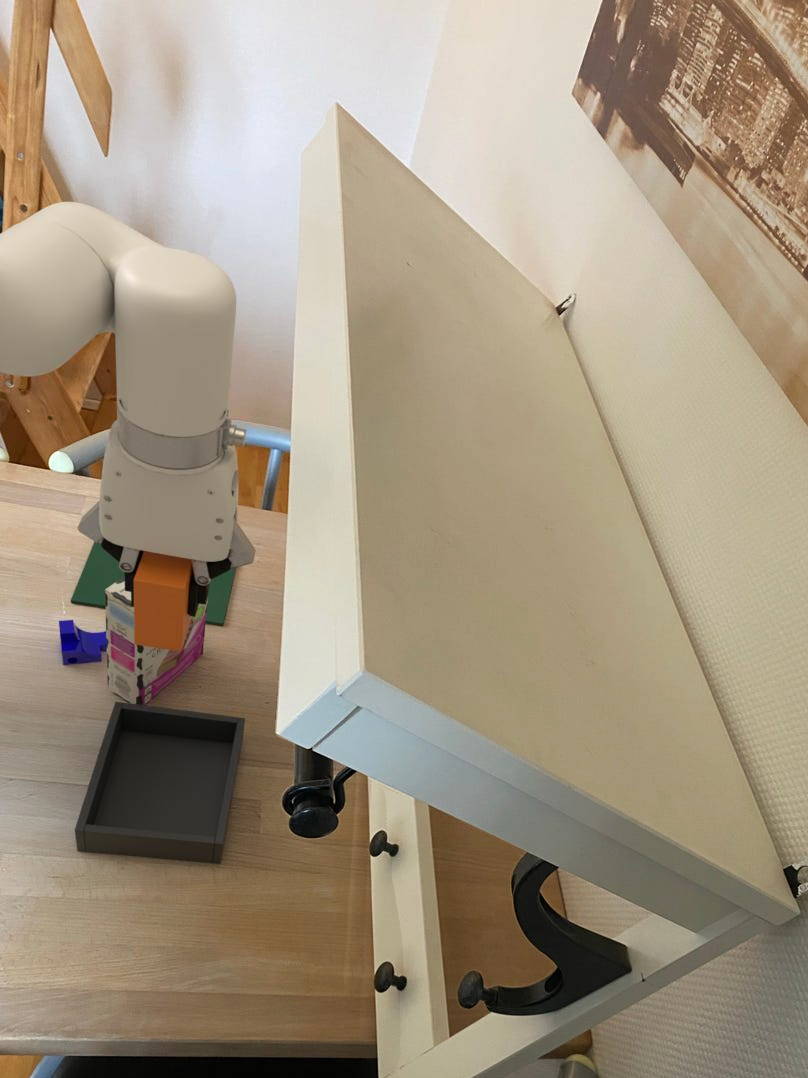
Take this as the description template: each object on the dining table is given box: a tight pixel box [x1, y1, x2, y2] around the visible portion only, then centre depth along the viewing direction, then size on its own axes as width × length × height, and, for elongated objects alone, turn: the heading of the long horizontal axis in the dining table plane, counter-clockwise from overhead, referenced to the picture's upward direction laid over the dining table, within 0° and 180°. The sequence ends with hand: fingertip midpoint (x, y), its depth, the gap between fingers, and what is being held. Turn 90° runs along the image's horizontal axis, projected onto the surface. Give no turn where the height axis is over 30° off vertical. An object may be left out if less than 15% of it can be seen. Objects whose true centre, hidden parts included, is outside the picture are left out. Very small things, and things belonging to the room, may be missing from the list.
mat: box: [70, 541, 237, 627], centre depth 110 cm, size 18×14×1 cm
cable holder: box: [58, 619, 107, 666], centre depth 98 cm, size 8×4×4 cm, turn 112°
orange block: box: [134, 551, 193, 652], centre depth 74 cm, size 4×7×8 cm, turn 2°
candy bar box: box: [105, 576, 208, 706], centre depth 94 cm, size 11×5×16 cm, turn 154°
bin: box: [74, 701, 246, 865], centre depth 88 cm, size 14×16×4 cm
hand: (167, 599), depth 75 cm, fingers closed on orange block, 4 cm apart
